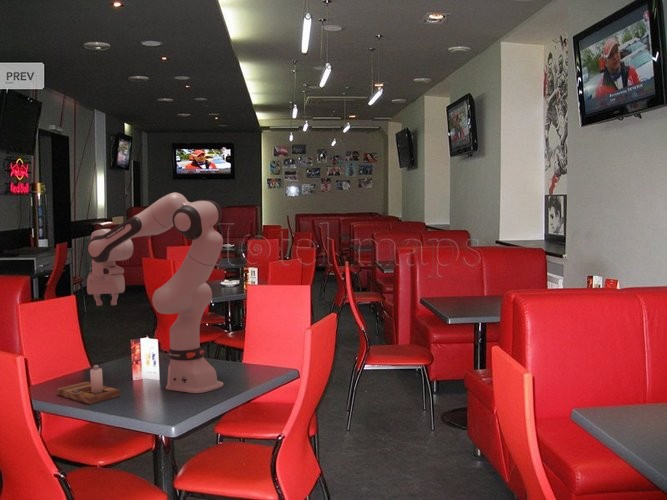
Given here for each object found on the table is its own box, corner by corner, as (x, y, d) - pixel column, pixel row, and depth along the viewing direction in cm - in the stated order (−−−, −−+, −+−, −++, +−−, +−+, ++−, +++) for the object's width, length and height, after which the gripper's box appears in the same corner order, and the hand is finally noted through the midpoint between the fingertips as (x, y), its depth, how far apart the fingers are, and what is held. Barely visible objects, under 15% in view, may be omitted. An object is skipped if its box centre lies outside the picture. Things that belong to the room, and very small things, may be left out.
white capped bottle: (102, 395, 240) (101, 363, 239) (103, 398, 237) (102, 366, 236) (91, 396, 239) (89, 364, 238) (91, 399, 235) (90, 367, 234)
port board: (119, 396, 240) (119, 388, 240) (89, 404, 230) (89, 396, 230) (87, 388, 253) (86, 380, 253) (57, 395, 243) (56, 387, 243)
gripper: (81, 272, 267) (84, 306, 267) (112, 269, 255) (115, 305, 254) (95, 271, 272) (97, 304, 272) (126, 268, 260) (129, 304, 260)
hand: (106, 305), depth 263 cm, fingers open, 8 cm apart
